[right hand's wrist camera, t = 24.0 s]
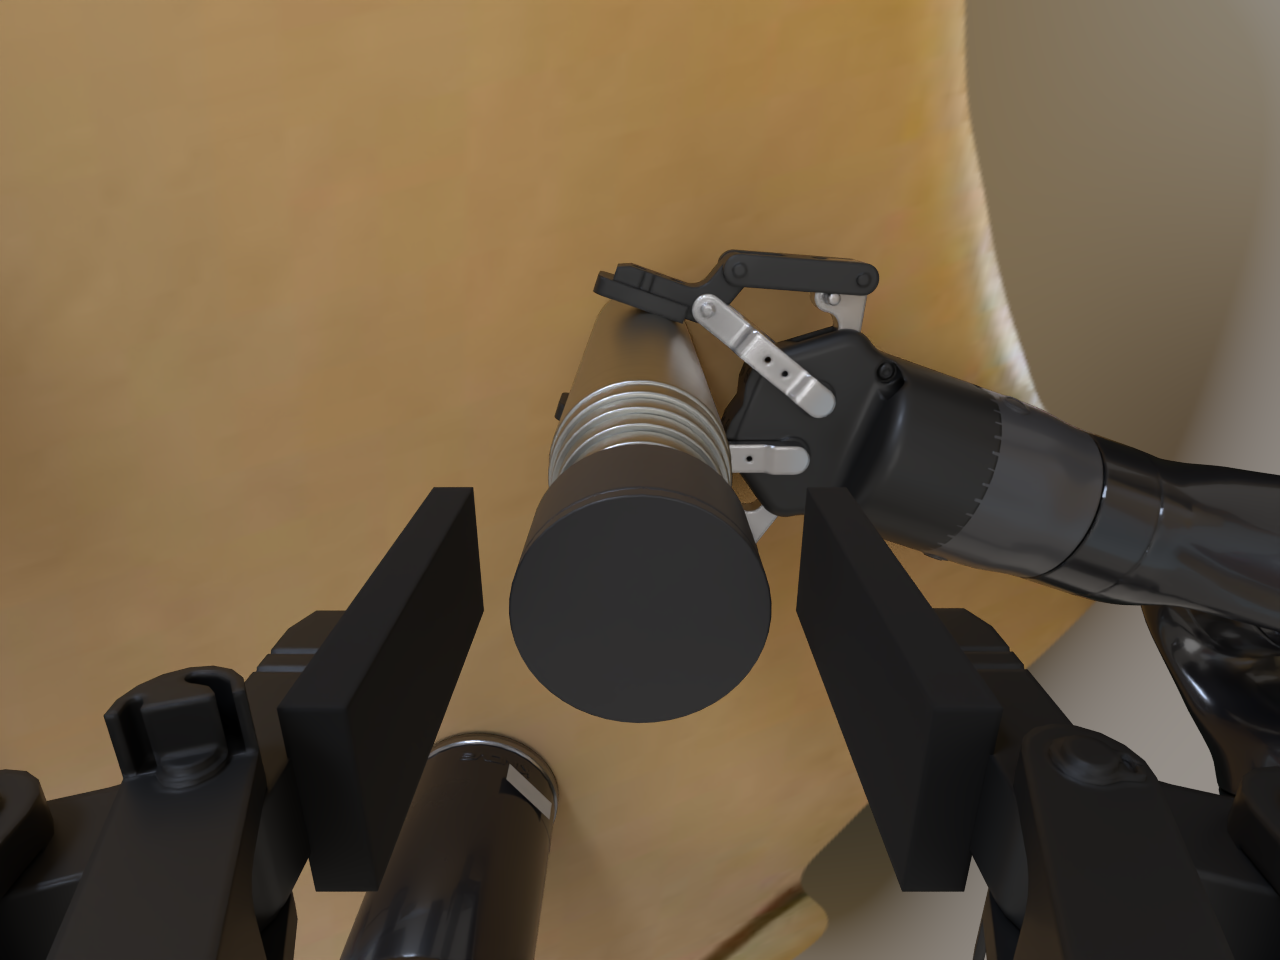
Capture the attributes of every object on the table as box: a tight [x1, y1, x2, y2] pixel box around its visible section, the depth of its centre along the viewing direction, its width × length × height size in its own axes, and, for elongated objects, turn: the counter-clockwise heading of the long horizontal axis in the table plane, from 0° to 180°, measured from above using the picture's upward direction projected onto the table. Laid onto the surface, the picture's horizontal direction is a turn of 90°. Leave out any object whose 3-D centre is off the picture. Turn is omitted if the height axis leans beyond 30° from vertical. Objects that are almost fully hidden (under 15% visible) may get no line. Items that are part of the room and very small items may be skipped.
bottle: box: [548, 299, 732, 487], centre depth 25 cm, size 5×5×25 cm
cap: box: [509, 444, 771, 723], centre depth 13 cm, size 4×4×3 cm
